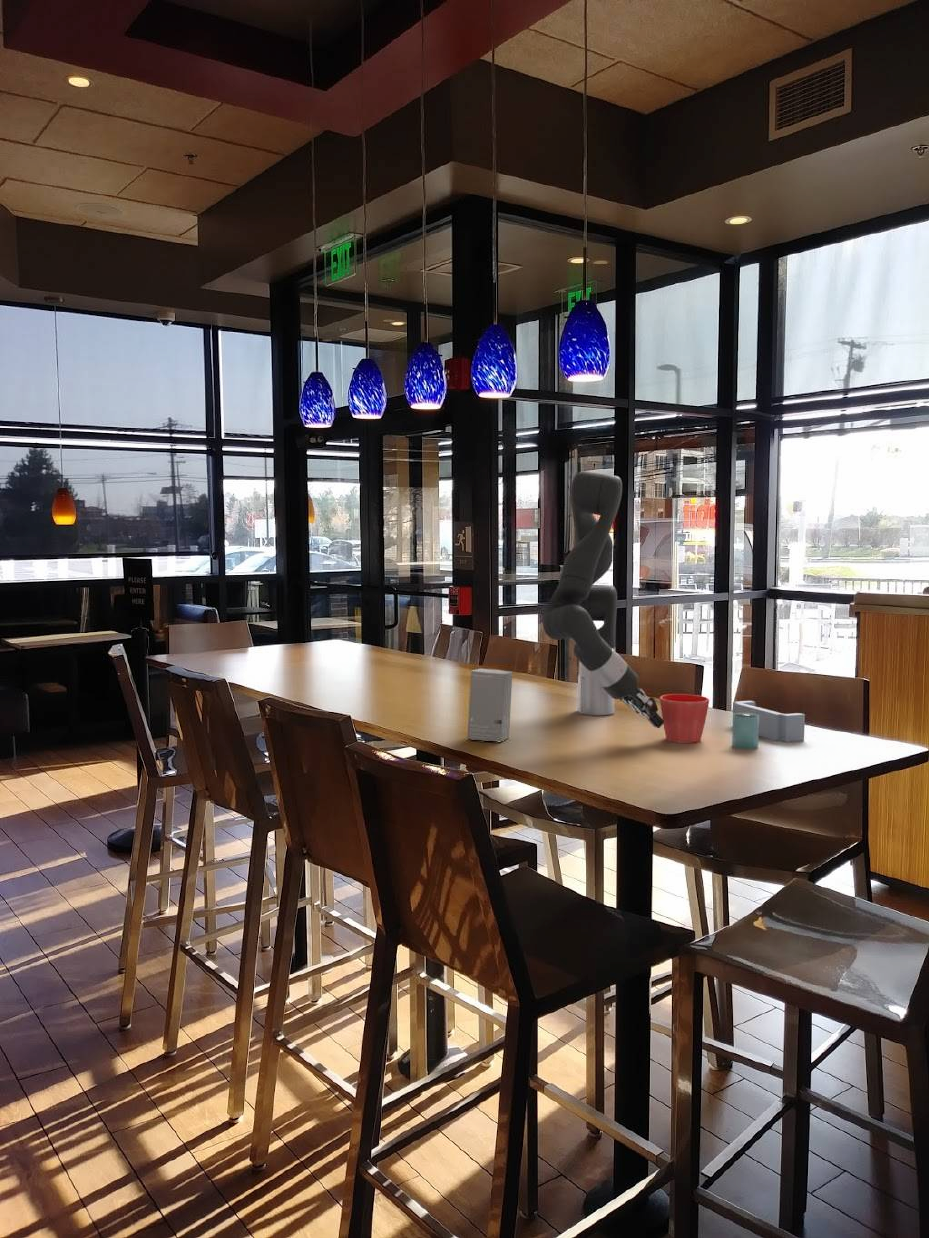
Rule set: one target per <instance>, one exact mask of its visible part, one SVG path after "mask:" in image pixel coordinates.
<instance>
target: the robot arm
mask: <svg viewBox="0 0 929 1238" xmlns="http://www.w3.org/2000/svg"><path fill="white" fill-rule="evenodd" d="M622 495H623V482H622V478H621V477H619V476H618V475H612V474H608V473H600V472H594V471H588V470H583V471H579V472H578V473H576V474H575V475H574V477H573V479H572V482H571V486H570V504H571V505H570V506H571V513H572V519H573V528H574V529H573V530H574V532H573V533H574V534H573V535H574V538H573V539H574V540H573V547H572V548H571V550H570V551H569V553H568V554H567V556H566V558H565V559H564V562H563V566H562V570H561V574H560V577H559V582H558V585H557V587H556V589H555V591H554V592H553V595H552V597H551V598H550V600H549V602H548V604H547V606H546V608H545V609H544V610H545V611H544V614H543V618H542V626H543V627H542V628H543V631H544V632H545V633H544V634H546V636H547V637H549V638H550V639H552V640H555V641H557V640H559V641H560V640H565V639H572V640H573V641H574V642H575V644H574V646H573V649H572V650H573V654H574V656H575V657H576V659H577V660H578V661H579V662H578V663H579V665H578V666H579V668H578V669H579V670H578V671H579V672H578V675H577V712H578V713H579V714H580V715H587V714H588V715H587V716H589V715H590V716H608V715H609V716H610V715H614V713H615V706H616V705H615V700H620V701H622V702H623V704H625V705H626V706H628V707H629V708H630V709H632V710H633V711H634V712H635V713H637V714H640V715H641V716H642V717H643V718H645V719H647V721H648V722H649V723H650V724H651V725H652V726H653V727H654V728H657V729H660V728H662V726H664V724H663V723H664V720H663V718H662V716H660V714H658V711H659V708H658V706H657V703H656V702H657V701H656V700H655V698H654V697H652V696H650V697H648V696H647V695H646V691H644V690H643V689H642V688H641V687H638V683H639V675H638V674H637V673H636V672H635V671H634V669H632V667H631V666H630V665H629V664H628V663H627V662H626V661H625V659H623V657H622V656H621V655H620V654H619V653H617V652H616V626H617V625H616V624H617V623H616V622H617V613H618V612H617V610H618V608H617V607H618V592H617V591H618V590H617V589H616V587H615V586H613V585H609V584H608V585H603V584H602V585H601V584H599V585H598V584H596V585H595V583H597V581H598V580H599V579H601V578H602V577H603V576H604V575H605V574H606V573H607V572H608V570H609V569H610V567H612V563H613V554H614V553H613V551H614V550H613V549H614V545H613V539H612V537H611V535H610V532H611V529H612V526H613V523H614V522H615V520H616V519H615V518H616V516H617V514H618V511H619V507H620V504H621V500H622ZM595 515H596V516H597V515H598V516H599V518H598V519H597V517H596V516H595ZM594 621H595V622H603V624H602V626H600V627H599V628H597V626H596V624H595V622H594Z"/></svg>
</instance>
